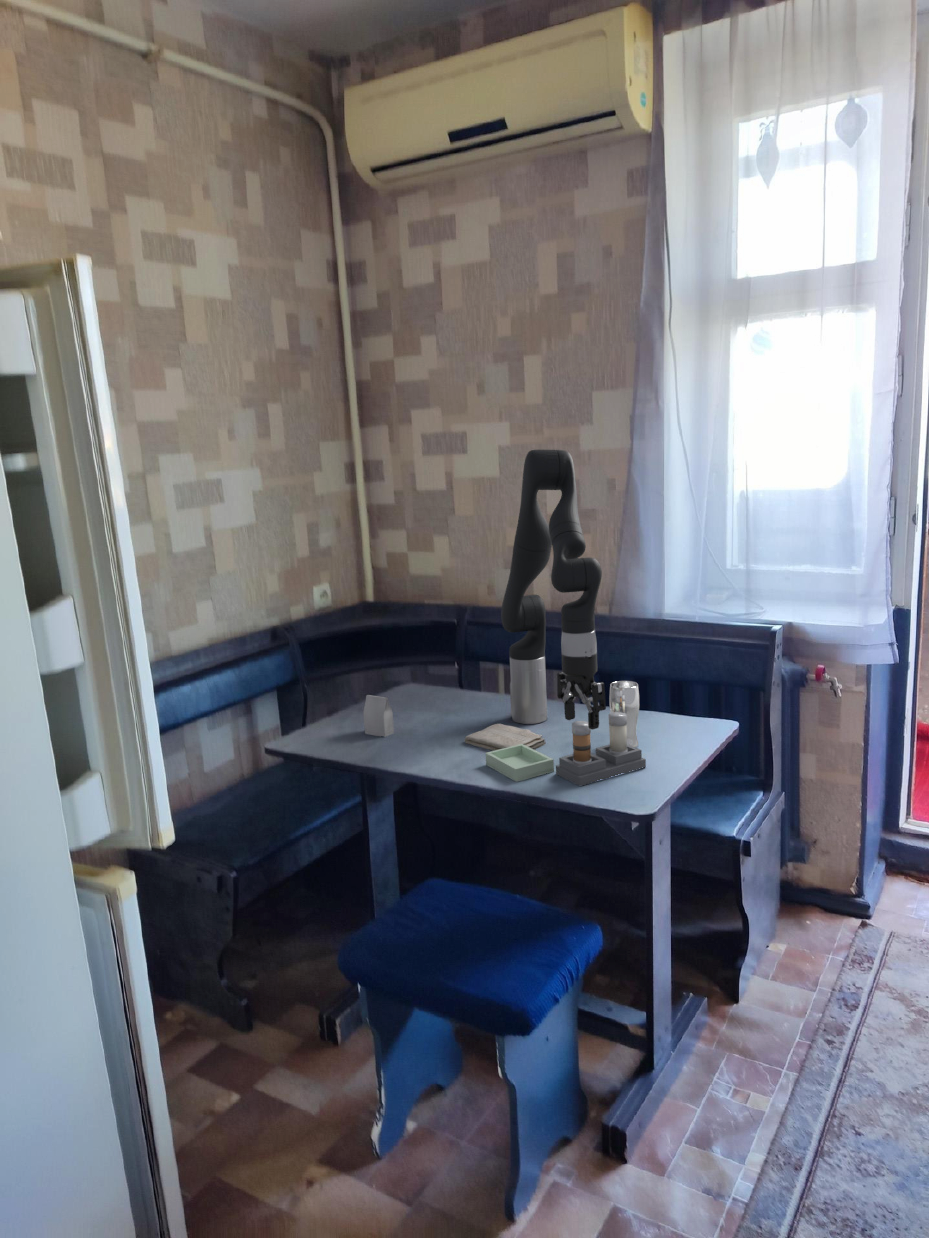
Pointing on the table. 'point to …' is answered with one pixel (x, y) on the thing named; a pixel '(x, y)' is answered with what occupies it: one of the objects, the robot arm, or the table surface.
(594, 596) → the robot arm
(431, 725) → the table surface
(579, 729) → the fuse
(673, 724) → the table surface
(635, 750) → the fuse block
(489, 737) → the washcloth
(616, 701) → the beer glass
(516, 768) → the parts tray
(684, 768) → the table surface
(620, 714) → the fuse
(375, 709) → the tea bag
